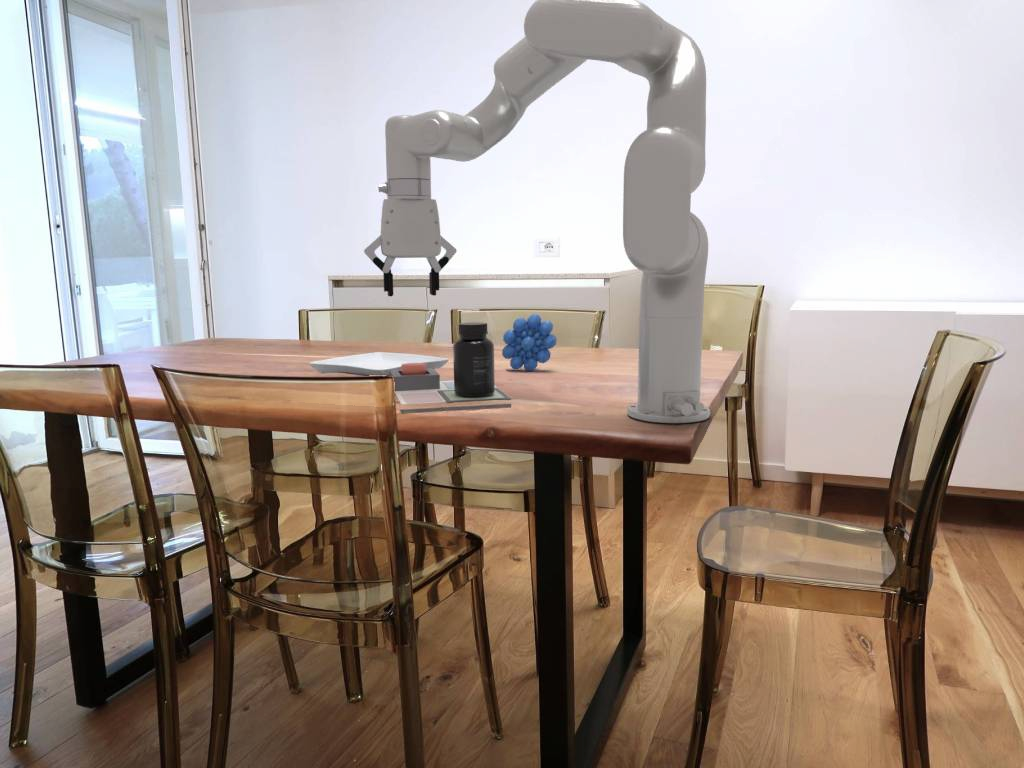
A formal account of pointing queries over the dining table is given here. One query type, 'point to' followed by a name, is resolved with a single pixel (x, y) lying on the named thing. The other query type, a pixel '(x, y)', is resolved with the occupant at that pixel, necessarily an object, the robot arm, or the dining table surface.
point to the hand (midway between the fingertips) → (411, 294)
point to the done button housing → (416, 380)
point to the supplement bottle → (473, 361)
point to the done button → (413, 368)
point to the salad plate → (374, 363)
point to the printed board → (446, 398)
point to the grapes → (528, 342)
